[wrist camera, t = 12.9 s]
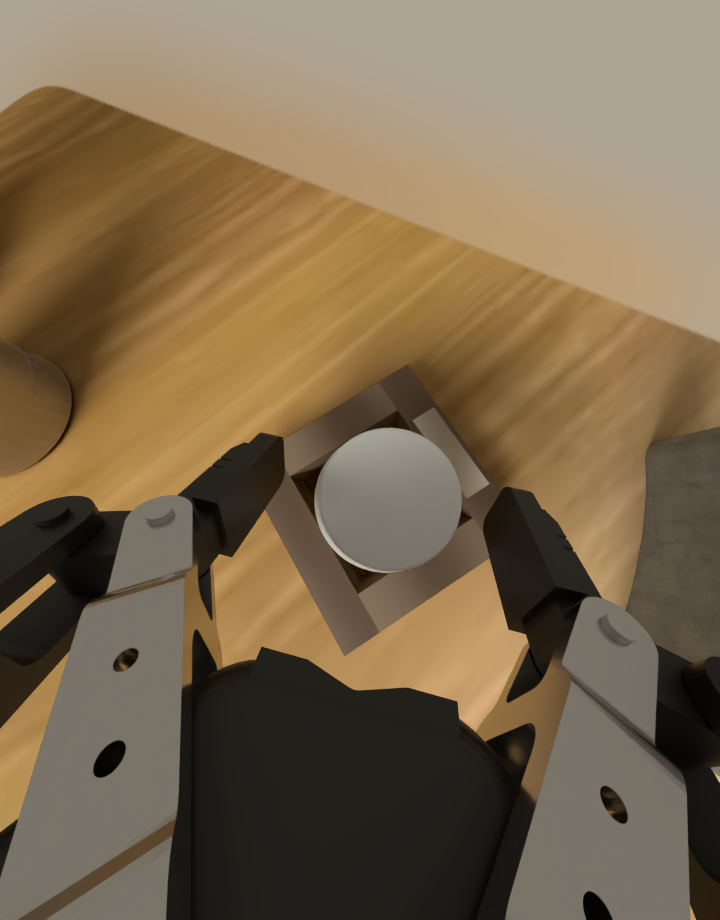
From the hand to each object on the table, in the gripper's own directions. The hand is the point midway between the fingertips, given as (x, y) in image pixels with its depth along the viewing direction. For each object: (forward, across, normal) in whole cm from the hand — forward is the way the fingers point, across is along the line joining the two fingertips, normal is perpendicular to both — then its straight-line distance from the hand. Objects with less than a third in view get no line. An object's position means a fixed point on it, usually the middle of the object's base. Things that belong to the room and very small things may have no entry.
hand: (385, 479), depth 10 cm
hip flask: (+5, -17, +6) cm, 19 cm away
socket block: (+5, 0, +6) cm, 7 cm away
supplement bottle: (+5, 0, +6) cm, 8 cm away
